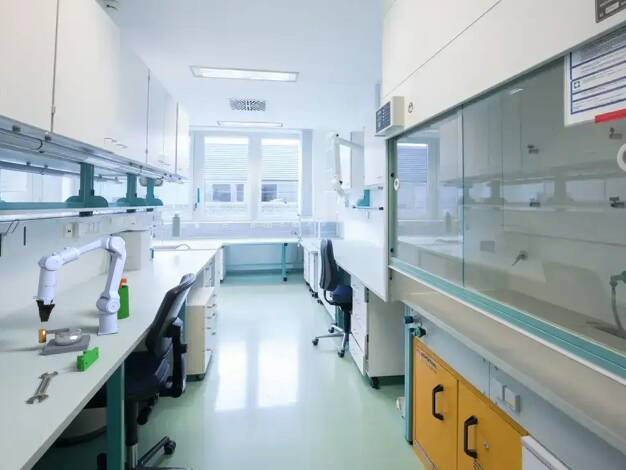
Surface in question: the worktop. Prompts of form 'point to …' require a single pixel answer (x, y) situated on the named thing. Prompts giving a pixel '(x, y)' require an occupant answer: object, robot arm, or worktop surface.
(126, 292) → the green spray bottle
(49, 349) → the base plate
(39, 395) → the wrench
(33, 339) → the worktop surface
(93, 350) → the pipe clamp
